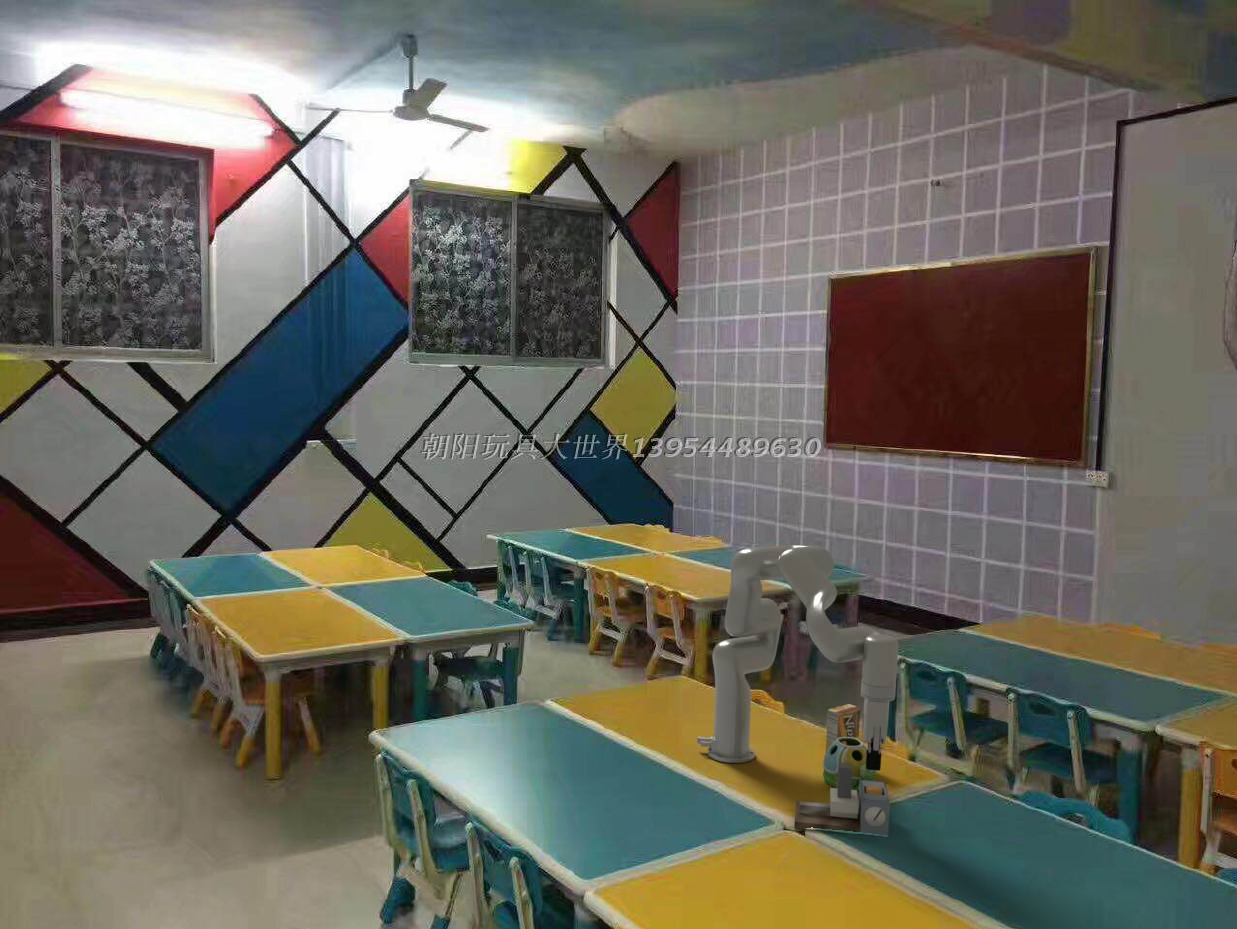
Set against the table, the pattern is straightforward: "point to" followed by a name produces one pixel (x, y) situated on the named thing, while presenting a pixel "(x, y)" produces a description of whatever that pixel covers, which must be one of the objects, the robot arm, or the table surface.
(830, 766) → the turtle holder
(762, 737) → the table surface
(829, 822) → the rail board
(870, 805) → the gauge cabinet
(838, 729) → the candy box
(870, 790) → the button
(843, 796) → the carriage
